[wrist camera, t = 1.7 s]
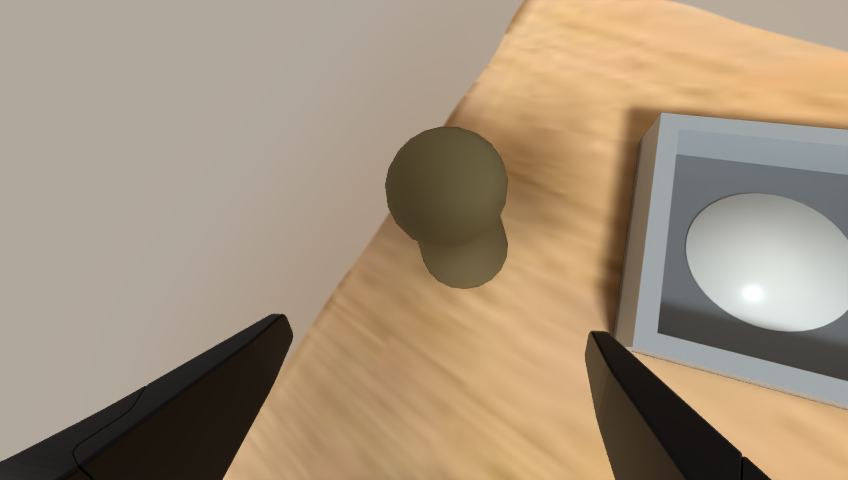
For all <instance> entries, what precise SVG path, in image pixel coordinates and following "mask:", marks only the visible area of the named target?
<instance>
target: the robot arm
mask: <svg viewBox="0 0 848 480" xmlns="http://www.w3.org/2000/svg"><path fill="white" fill-rule="evenodd" d="M292 340H293V332H292V329H291V327H290V324H289V322H288V319H287V317H286V316H285V315H284V314H271V315H269V316H267V317H265V318H263V319H262V320H260V321H259V322H256V323H255V324H253V325H251V326H250V327H248V328H246V329H244V330H242V331H241V332H239V333H237V334H235V335H234V336H232V337H230V338H228V339H227V340H225V341H223V342H221V343H220V344H218V345H216V346H214V347H213V348H211V349H209V350H207V351H206V352H204V353H202V354H200V355H198V356H197V357H195V358H193V359H191V360H190V361H188V362H186V363H184V364H183V365H181V366H179V367H177V368H176V369H174V370H172V371H170V372H169V373H167V374H165V375H163V376H162V377H160V378H158V379H156V380H155V381H153V382H151V383H149V384H148V385H147V386H144V387H142V388H141V389H139V390H137V391H136V392H133V393H132V394H130V395H128V396H126V397H125V398H123V399H121V400H119V401H117V402H116V403H114V404H112V405H110V406H108V407H106V408H105V409H103V410H101V411H99V412H97V413H95V414H93V415H91V416H89V417H87V418H86V419H84V420H82V421H80V422H78V423H76V424H74V425H72V426H70V427H68V428H66V429H64V430H62V431H60V432H59V433H57V434H55V435H53V436H51V437H49V438H47V439H45V440H43V441H41V442H39V443H37V444H35V445H33V446H31V447H29V448H27V449H26V450H24V451H21V452H20V453H18V454H16V455H14V456H11V457H9V458H7V459H6V460H3V461H1V462H0V480H223V478H224V476H225V474H226V472H227V470H228V468H229V467H230V465H231V463H232V461H233V459H234V457H235V455H236V454H237V452H238V450H239V448H240V446H241V444H242V442H243V441H244V439H245V437H246V435H247V433H248V431H249V429H250V428H251V426H252V424H253V422H254V420H255V418H256V416H257V415H258V413H259V411H260V409H261V407H262V405H263V403H264V402H265V400H266V398H267V396H268V394H269V392H270V390H271V388H272V386H273V384H274V382H275V380H276V378H277V376H278V373H279V371H280V368H281V366H282V364H283V361H284V359H285V357H286V354H287V352H288V350H289V347H290V345H291V343H292ZM585 362H586V367H587V372H588V378H589V383H590V388H591V393H592V398H593V403H594V409H595V413H596V418H597V422H598V426H599V429H600V432H601V436H602V439H603V442H604V445H605V448H606V452H607V455H608V458H609V461H610V464H611V468H612V471H613V474H614V477H615V480H771V479H770V478H769V477H768V476H767V475H766V474H764V473H763V472H762V471H761V470H760V469H759V468H758V467H757V466H756V465H755V464H753V463H752V462H751V461H750V460H749V459H748V458H747V457H742V453H741V452H740V451H739V450H738V449H737V448H736V447H734V446H733V445H732V444H731V443H730V442H729V441H728V440H727V439H726V438H724V437H723V436H722V435H721V434H720V433H719V432H718V431H717V430H716V429H715V428H713V427H712V426H711V425H710V424H709V423H708V422H707V421H706V420H705V419H703V418H702V417H701V416H700V415H699V414H698V413H697V412H696V411H695V410H694V409H692V408H691V407H690V406H689V405H688V404H687V403H686V402H685V401H684V400H683V399H681V398H680V397H679V396H678V395H677V394H676V393H675V392H674V391H673V390H671V389H670V388H669V387H668V386H667V385H666V384H665V383H664V382H663V381H662V380H660V379H659V378H658V377H657V376H656V375H655V374H654V373H653V372H652V371H650V370H649V369H648V368H647V367H646V366H645V365H644V364H643V363H642V362H641V361H639V360H638V359H637V358H636V357H635V356H634V355H633V354H632V353H631V352H629V351H628V350H627V349H626V348H625V347H624V346H623V345H622V344H621V343H620V342H618V341H617V340H616V339H615V338H614V337H613V336H612V335H611V334H610V333H608V332H605V331H591V332H590V333H589V335H588V340H587V346H586V351H585Z"/></svg>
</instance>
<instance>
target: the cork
mask: <svg viewBox="0 0 848 480" xmlns="http://www.w3.org/2000/svg"><path fill="white" fill-rule="evenodd" d="M507 184H508V179H507V175H506V171H505V167H504V163H503V161H502V159H501V157H500V156H499V154H498V153H497V151H496V150H495V148H494V147H493V146H492V144H491V143H490V142H488V141H487V140H485V139H484V138H483V137H481V136H480V135H478V134H477V133H474V132H472V131H468V130H465V129H462V128H459V127H438V128H434V129H430V130H426V131H424V132H422V133H420V134H419V135H417V136H415V137H413V138H411V139H410V140H409V141H408V142H407V143H406V144H405V145H404V146H403V147H402V148H401V149H400V150H399V151H398V153H397V154H396V156H395V158H394V160H393V162H392V163H391V165H390V167H389V169H388V174H387V178H386V183H385V186H386V187H385V188H386V195H387V203H388V208H389V210H390V212H391V214H392V216H393V218H394V220H395V222H396V223H397V224H398V225H399V227H400V228H402V229H403V230H404V231H405V232H406V233H407V234H408V235H409V236H410V237H411V238H412V239H414V240H416V241H418V244H419V247H420V251H421V254H422V258H423V261H424V263H425V265H426V267H427V269H428V270H429V272H430V273H431V274H432V275H433V276H434V277H435V278H436V279H437V280H438V281H439V282H441V283H443V284H445V285H447V286H450V287H453V288H461V289H468V288H474V287H479V286H481V285H483V284H484V283H486V282H488V281H490V280H492V279H493V277H494V276H495V275H496V274H497V273H498V272H499V271H500V270H501V268H502V266H503V264H504V262H505V260H506V257H507V248H508V242H507V238H506V234H505V230H504V227H503V224H502V221H501V218H500V214H501V212H502V210H503V208H504V206H505V203H506V194H507Z"/></svg>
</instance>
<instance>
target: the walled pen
mask: <svg viewBox="0 0 848 480" xmlns="http://www.w3.org/2000/svg"><path fill="white" fill-rule="evenodd" d="M613 337H614V338H615V339H616V340H617V341H618V342H620V343H621V344H622V345H623V346H624V347H625V348H626V349H627V350H629V351H632V352H636V353H640V354H643V355H647V356H651V357H654V358H658V359H662V360H666V361H669V362H673V363H677V364H680V365H684V366H688V367H691V368H695V369H699V370H702V371H706V372H710V373H713V374H717V375H721V376H724V377H728V378H732V379H735V380H739V381H743V382H747V383H750V384H754V385H758V386H761V387H765V388H769V389H772V390H776V391H780V392H783V393H787V394H791V395H794V396H798V397H802V398H805V399H809V400H813V401H816V402H820V403H824V404H827V405H831V406H835V407H839V408H842V409H846V410H848V130H844V129H833V128H822V127H811V126H801V125H790V124H779V123H768V122H757V121H746V120H736V119H725V118H714V117H703V116H692V115H681V114H671V113H661V114H660V115H659V116H658V118H657V119H656V120H655V122H654V123H653V124H652V126H651V127H650V128H649V130H648V131H647V132H646V134H645V135H644V136H643V138H642V139H641V140H640V144H639V151H638V158H637V166H636V173H635V180H634V187H633V195H632V202H631V209H630V216H629V224H628V231H627V238H626V246H625V253H624V260H623V267H622V275H621V282H620V289H619V296H618V304H617V311H616V318H615V325H614V333H613Z"/></svg>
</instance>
